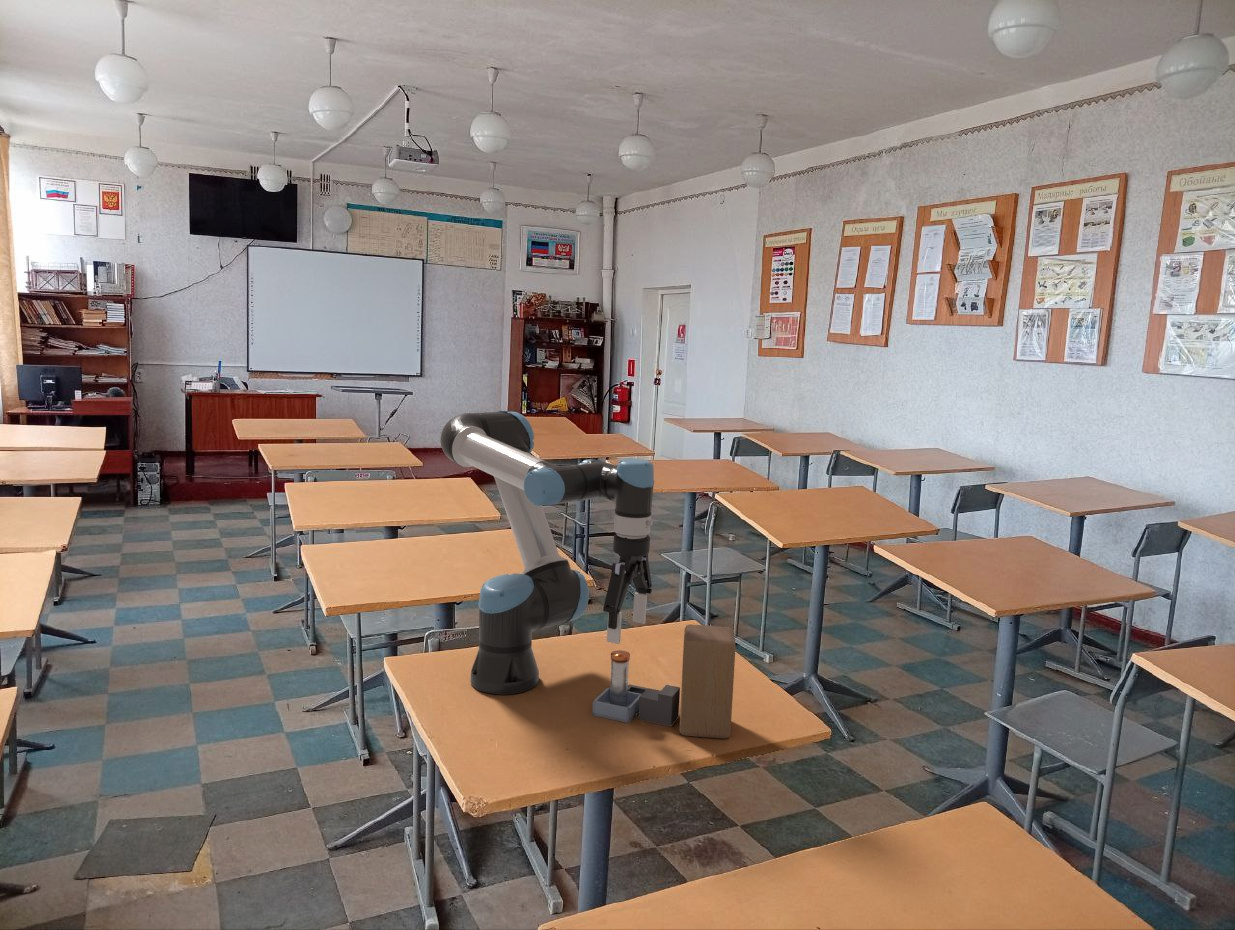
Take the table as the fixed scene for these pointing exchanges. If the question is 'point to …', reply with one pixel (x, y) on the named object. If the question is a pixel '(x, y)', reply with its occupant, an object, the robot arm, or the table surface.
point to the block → (707, 681)
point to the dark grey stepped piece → (660, 705)
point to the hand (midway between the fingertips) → (626, 632)
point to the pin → (619, 677)
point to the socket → (636, 689)
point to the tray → (616, 707)
